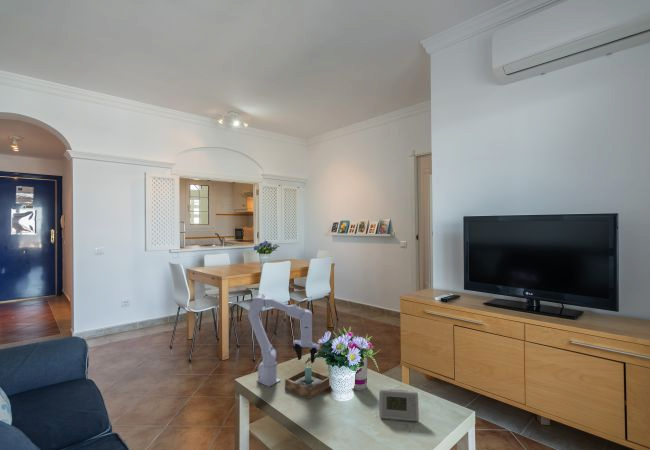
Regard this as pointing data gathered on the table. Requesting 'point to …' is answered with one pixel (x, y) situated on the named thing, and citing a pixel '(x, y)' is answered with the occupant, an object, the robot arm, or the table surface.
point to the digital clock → (398, 405)
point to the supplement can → (361, 377)
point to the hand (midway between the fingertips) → (306, 360)
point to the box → (307, 390)
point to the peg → (308, 375)
